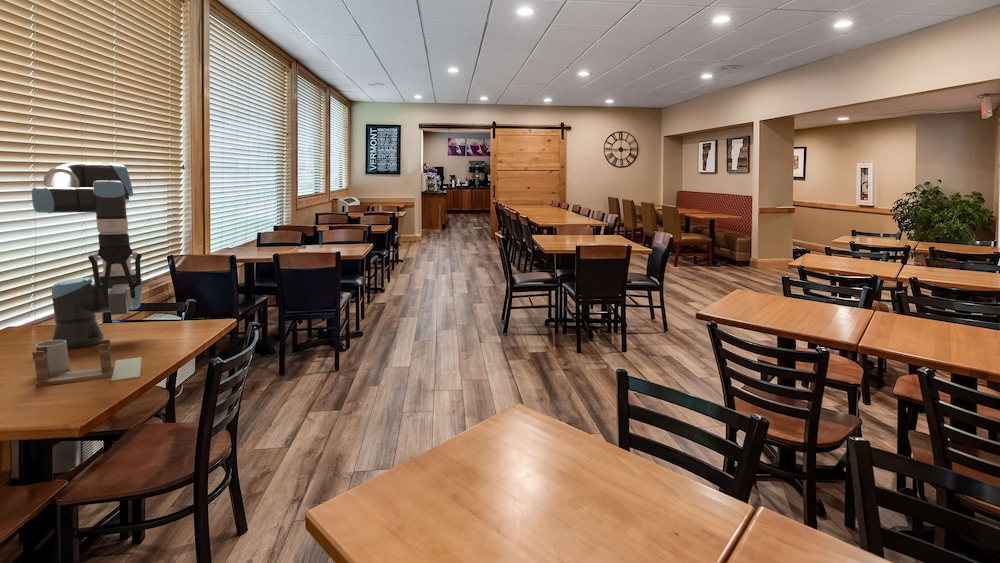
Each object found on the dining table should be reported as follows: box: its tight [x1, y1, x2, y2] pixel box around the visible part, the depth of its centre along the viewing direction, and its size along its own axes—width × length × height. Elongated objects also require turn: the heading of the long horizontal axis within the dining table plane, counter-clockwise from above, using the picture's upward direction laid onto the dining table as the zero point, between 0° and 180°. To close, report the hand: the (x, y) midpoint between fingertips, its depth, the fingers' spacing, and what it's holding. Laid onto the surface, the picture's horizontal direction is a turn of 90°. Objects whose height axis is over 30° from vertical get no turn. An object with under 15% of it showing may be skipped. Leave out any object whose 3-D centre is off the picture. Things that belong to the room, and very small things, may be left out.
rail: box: [109, 284, 130, 316], centre depth 167 cm, size 4×20×6 cm, turn 31°
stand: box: [31, 338, 114, 388], centre depth 162 cm, size 8×18×10 cm, turn 122°
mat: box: [110, 356, 143, 382], centre depth 171 cm, size 22×7×1 cm, turn 32°
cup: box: [35, 339, 70, 374], centre depth 168 cm, size 7×10×9 cm
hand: (121, 309), depth 167 cm, fingers closed on rail, 4 cm apart
